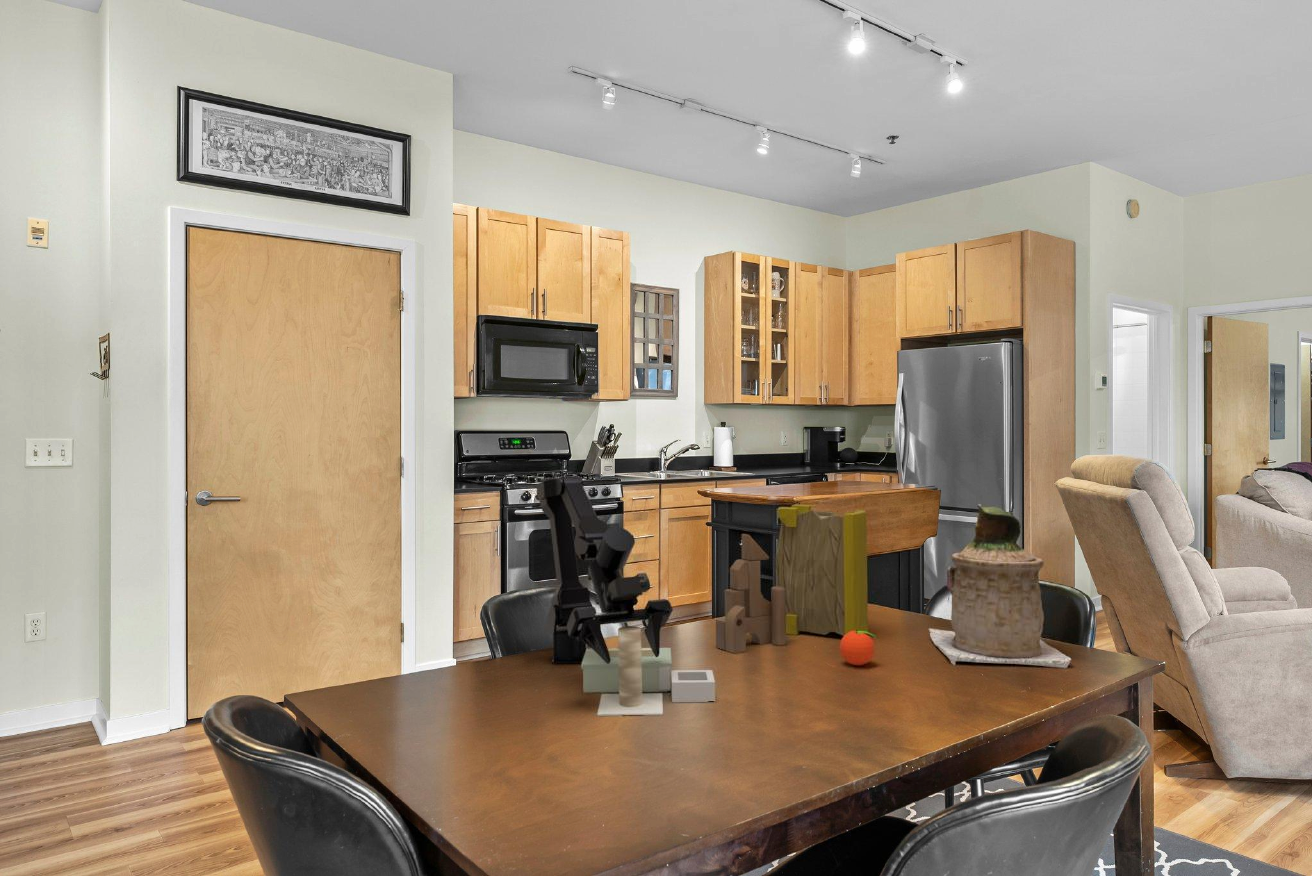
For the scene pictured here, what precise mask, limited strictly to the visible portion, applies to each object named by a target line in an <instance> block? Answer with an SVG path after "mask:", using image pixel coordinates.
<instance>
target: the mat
mask: <svg viewBox="0 0 1312 876" xmlns="http://www.w3.org/2000/svg"><path fill="white" fill-rule="evenodd" d="M663 710H664V709H663V692H655V693H654V692H653V693H652V692H646V693H642V704H641V705H639V706H635V707H625V706H621V705H620V702H619V693H601V696H600V700H599V705H598V709H597V713H596V715H597V717H602V716H603V717H614V716H615V717H623V716H622V715H627V717H628V715H644V716H663V715H664V711H663Z"/></svg>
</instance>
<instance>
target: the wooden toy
mask: <svg viewBox="0 0 1312 876" xmlns="http://www.w3.org/2000/svg"><path fill="white" fill-rule="evenodd" d="M764 560H770V556H769V555H768V554H767V553H766V552H765V551H764V550H763V549H762V548H761V546H760V545H759V544H758V543H757V542H756V541H755V540H754V539H753V538H752V536H751V535H750V534H747V533H742V534H741V559H740V558H739V559H736V560H735V561H734V562H733V564H732V565H731V567H730V568H729V588H727V589H725V590H724V617H722V618H717V619H715V647H716V649H718V648H720V649H719V650H721V649H723V650H722V651H724V650H726V651H725V652H728V651H729V652H728V653H730V652H731V654H733V653H735V654H739V653H746V651H747V649H746V645H747V642H746V638H747V637H746V634H747V633H749V635H750V636H751V642H752V643H755V644H757V645H767V644H772V645H774V646H777V647H779V646H780V647H781V646H785V645H786V644H787V634H786V589H785V588H784V587H776V586H772V587H771V590H770V591H771V592H770V594H771V595H770V596H771V598H770V600H771V601H769V600H767V599H766V598H764V595H763V594H762V592H761V590H762V589H761V561H764Z"/></svg>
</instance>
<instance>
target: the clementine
mask: <svg viewBox="0 0 1312 876" xmlns="http://www.w3.org/2000/svg"><path fill="white" fill-rule="evenodd" d="M870 635H871V636H873V637H875V635H874V634H872V633H870V632H869V631H868V632H865V631H858V630H856V631H850V632H848V633H847V634H846V635H844V636H843V637H842V638H841V640H840V643H839V644H840V645H839V651H840V655H841V657H842V658H843V659H844V660H845V661H846V662H847V663H848V664H850V665H852V666H853V665H854V666H856V667H857V666H860V667H861V666H863V665H866V664H868V663H870V662H871V660H872V659H873V657H874V655H875V643H874V641H873V639H872V637H871V636H870Z"/></svg>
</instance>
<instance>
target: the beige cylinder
mask: <svg viewBox="0 0 1312 876" xmlns="http://www.w3.org/2000/svg"><path fill="white" fill-rule="evenodd" d="M617 632H618V633H617V635H618V636H617V638H618V639H617V640H618V643H617V646H618V647H617V648H618V650H619V692H618V694H619V702H620V705H621V706H625V707H635V706H639V705H641V704H642V694H643V692H642V655H641V648H642V628H641V627H639V626H633V625H631V626H630V625H629V626H628V625H626V626H620V627H619V628H618V629H617Z"/></svg>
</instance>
